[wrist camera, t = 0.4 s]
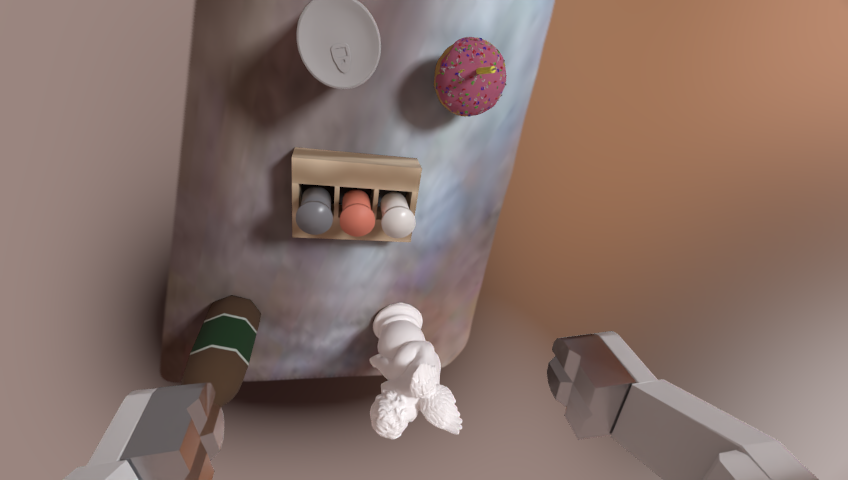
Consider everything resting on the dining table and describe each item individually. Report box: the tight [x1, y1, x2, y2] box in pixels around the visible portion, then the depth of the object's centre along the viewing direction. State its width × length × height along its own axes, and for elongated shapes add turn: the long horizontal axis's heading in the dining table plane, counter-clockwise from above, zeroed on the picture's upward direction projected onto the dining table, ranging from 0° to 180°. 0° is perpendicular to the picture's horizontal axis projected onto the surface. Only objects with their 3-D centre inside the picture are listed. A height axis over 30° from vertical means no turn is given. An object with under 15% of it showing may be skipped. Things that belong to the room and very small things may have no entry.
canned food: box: [296, 0, 381, 89], centre depth 41 cm, size 8×8×11 cm
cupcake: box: [434, 37, 506, 116], centre depth 44 cm, size 9×8×12 cm
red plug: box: [340, 189, 375, 237], centre depth 50 cm, size 4×4×6 cm
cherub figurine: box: [369, 302, 462, 439], centre depth 58 cm, size 12×12×22 cm
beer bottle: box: [181, 295, 261, 407], centre depth 51 cm, size 8×8×24 cm
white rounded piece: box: [380, 192, 416, 238], centre depth 51 cm, size 4×4×6 cm
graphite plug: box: [296, 186, 333, 235], centre depth 48 cm, size 4×4×6 cm
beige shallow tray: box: [292, 147, 422, 242], centre depth 53 cm, size 11×16×4 cm
